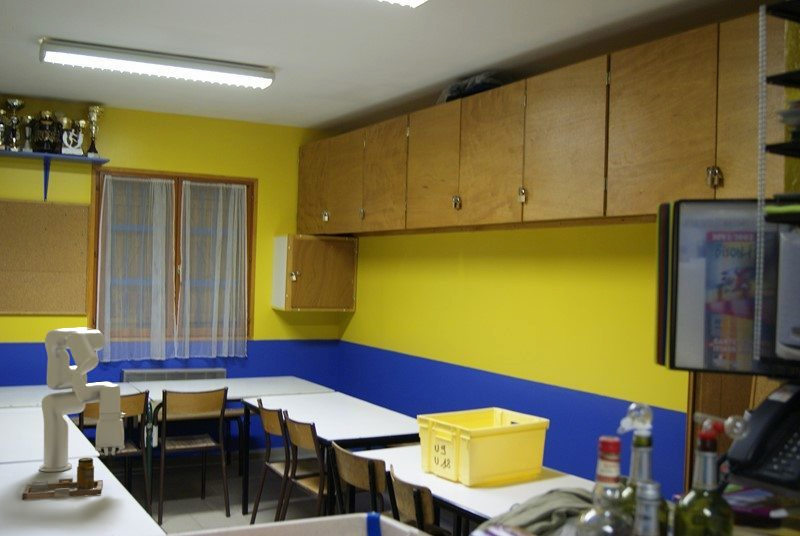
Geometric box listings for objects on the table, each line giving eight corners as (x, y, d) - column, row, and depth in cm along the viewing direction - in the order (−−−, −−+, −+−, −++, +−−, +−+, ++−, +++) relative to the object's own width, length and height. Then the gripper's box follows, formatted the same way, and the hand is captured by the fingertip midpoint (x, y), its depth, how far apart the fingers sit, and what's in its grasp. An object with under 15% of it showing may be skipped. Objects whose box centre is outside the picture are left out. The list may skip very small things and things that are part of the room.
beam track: (27, 489, 317) (27, 478, 317) (102, 484, 325) (103, 474, 325) (21, 500, 302) (21, 489, 302) (100, 495, 310) (101, 484, 310)
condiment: (94, 487, 321) (94, 456, 321) (96, 492, 313) (96, 461, 313) (73, 489, 318) (74, 457, 318) (75, 495, 310) (76, 462, 310)
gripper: (130, 414, 324) (130, 461, 323) (89, 416, 319) (89, 464, 319) (130, 417, 316) (130, 466, 316) (88, 419, 312) (88, 468, 312)
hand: (109, 465), depth 318 cm, fingers closed
